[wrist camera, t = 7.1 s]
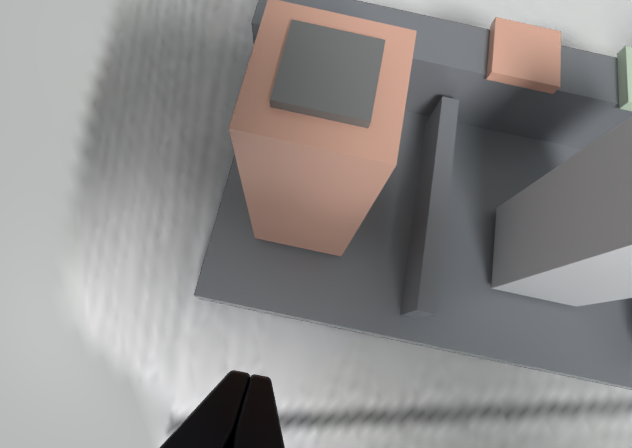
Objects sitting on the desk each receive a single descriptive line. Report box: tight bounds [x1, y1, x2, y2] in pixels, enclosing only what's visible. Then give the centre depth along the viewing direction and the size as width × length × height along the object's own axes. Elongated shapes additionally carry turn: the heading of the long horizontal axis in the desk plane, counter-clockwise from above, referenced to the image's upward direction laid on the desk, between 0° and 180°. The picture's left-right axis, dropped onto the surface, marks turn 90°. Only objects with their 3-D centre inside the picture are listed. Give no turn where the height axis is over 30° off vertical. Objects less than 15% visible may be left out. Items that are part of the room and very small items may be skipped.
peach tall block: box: [229, 0, 417, 256], centre depth 15 cm, size 4×4×10 cm
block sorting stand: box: [194, 0, 632, 390], centre depth 19 cm, size 14×30×6 cm, turn 79°
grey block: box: [491, 116, 632, 307], centre depth 15 cm, size 4×4×10 cm
